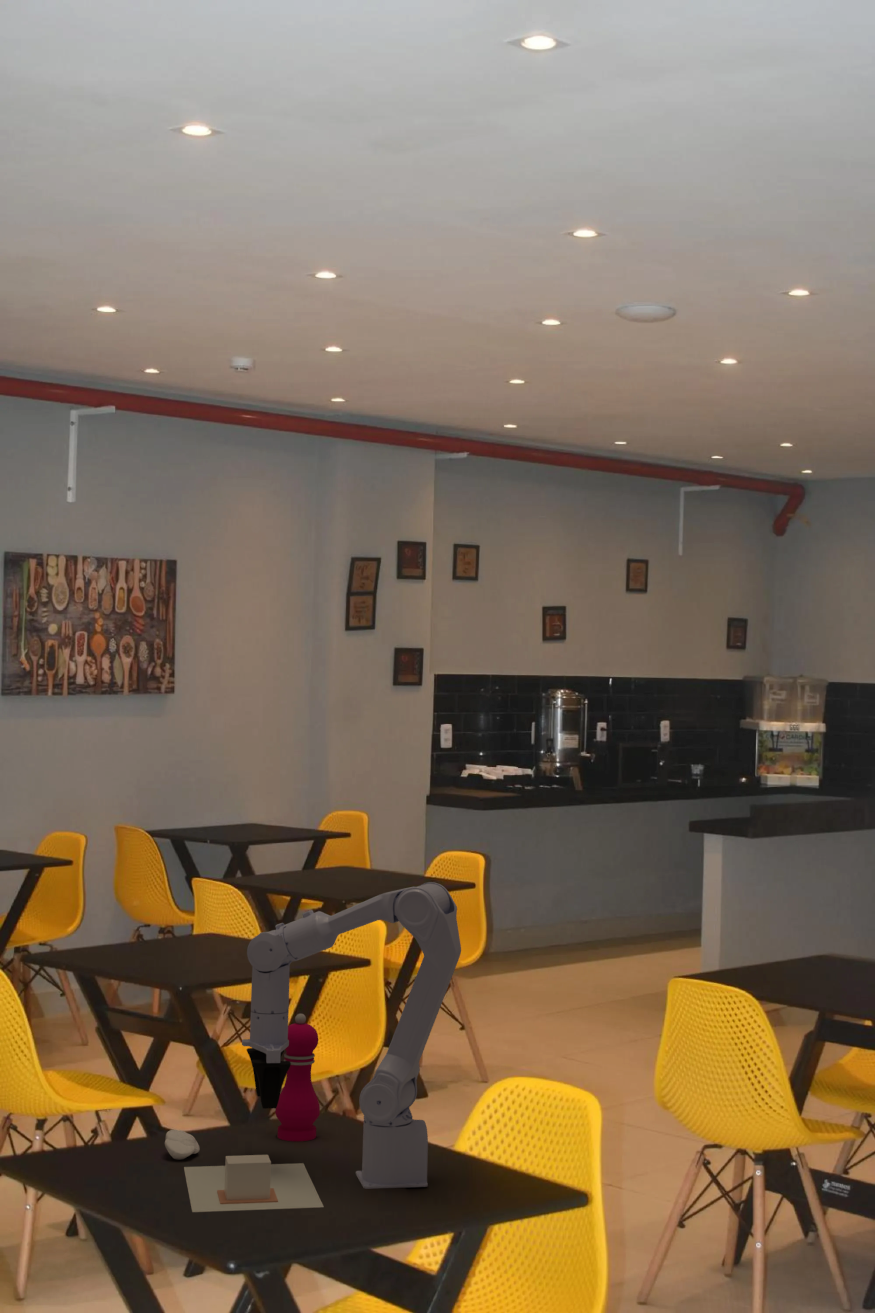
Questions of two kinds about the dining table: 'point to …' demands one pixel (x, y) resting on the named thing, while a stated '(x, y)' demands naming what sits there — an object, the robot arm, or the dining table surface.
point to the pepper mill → (299, 1085)
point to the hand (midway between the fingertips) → (266, 1102)
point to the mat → (288, 1187)
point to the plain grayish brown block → (247, 1177)
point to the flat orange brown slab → (224, 1201)
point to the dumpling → (180, 1144)
